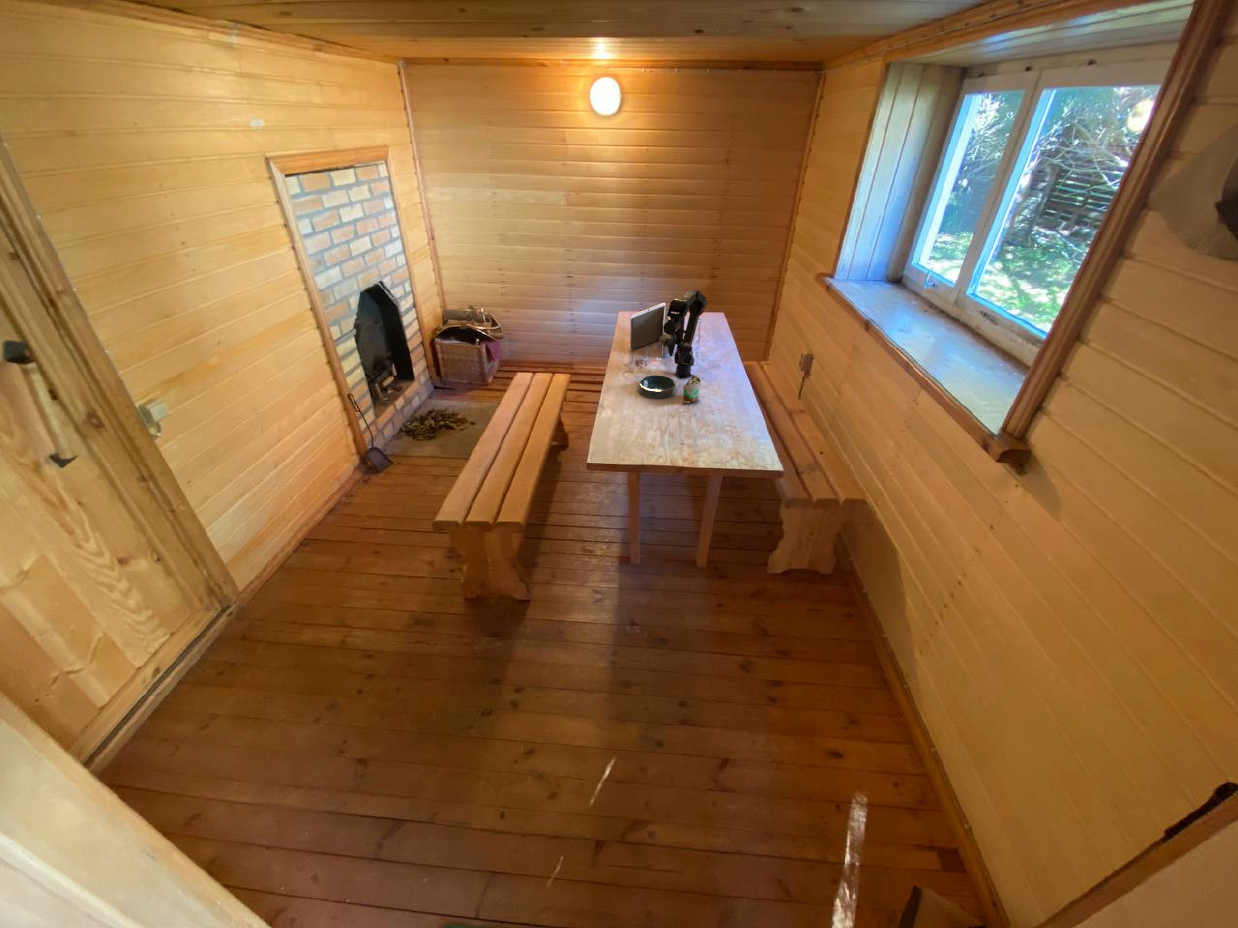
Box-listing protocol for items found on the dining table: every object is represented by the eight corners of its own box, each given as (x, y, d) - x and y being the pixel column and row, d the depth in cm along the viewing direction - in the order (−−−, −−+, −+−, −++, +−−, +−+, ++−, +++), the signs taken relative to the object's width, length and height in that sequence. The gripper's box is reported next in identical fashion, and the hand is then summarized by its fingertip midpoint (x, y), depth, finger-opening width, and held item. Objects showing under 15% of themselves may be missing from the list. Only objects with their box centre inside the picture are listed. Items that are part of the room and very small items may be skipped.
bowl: (664, 380, 251) (665, 372, 249) (681, 394, 238) (682, 387, 236) (633, 386, 245) (633, 378, 243) (648, 401, 232) (649, 393, 230)
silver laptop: (668, 359, 272) (671, 323, 261) (628, 357, 273) (629, 322, 262) (668, 335, 301) (670, 302, 290) (631, 334, 302) (632, 301, 291)
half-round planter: (694, 408, 227) (696, 388, 222) (681, 405, 229) (683, 385, 224) (703, 396, 236) (705, 377, 231) (690, 394, 239) (692, 374, 233)
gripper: (652, 323, 234) (651, 355, 243) (672, 337, 220) (669, 370, 229) (673, 320, 238) (671, 351, 247) (694, 333, 224) (691, 366, 233)
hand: (675, 360), depth 239 cm, fingers open, 9 cm apart
